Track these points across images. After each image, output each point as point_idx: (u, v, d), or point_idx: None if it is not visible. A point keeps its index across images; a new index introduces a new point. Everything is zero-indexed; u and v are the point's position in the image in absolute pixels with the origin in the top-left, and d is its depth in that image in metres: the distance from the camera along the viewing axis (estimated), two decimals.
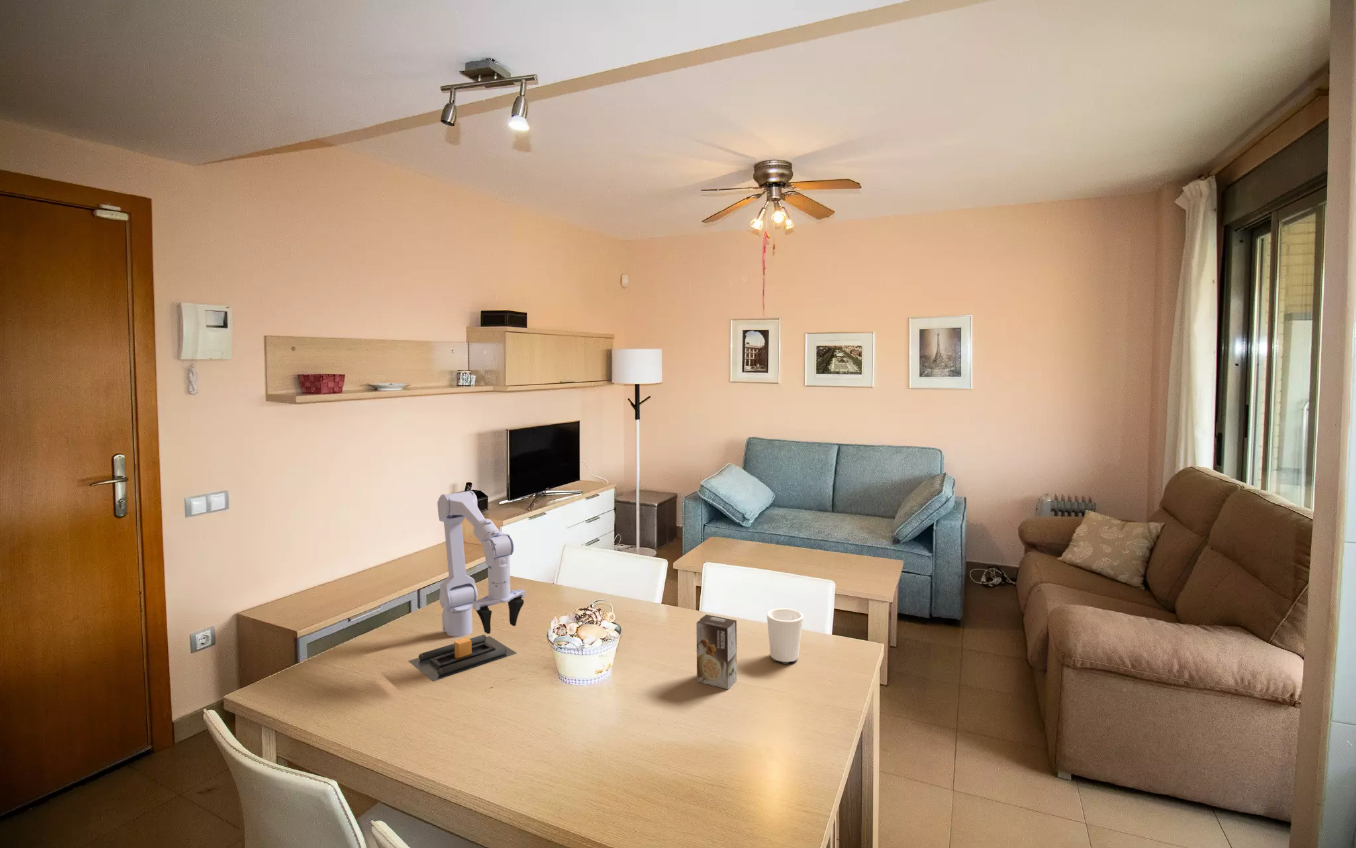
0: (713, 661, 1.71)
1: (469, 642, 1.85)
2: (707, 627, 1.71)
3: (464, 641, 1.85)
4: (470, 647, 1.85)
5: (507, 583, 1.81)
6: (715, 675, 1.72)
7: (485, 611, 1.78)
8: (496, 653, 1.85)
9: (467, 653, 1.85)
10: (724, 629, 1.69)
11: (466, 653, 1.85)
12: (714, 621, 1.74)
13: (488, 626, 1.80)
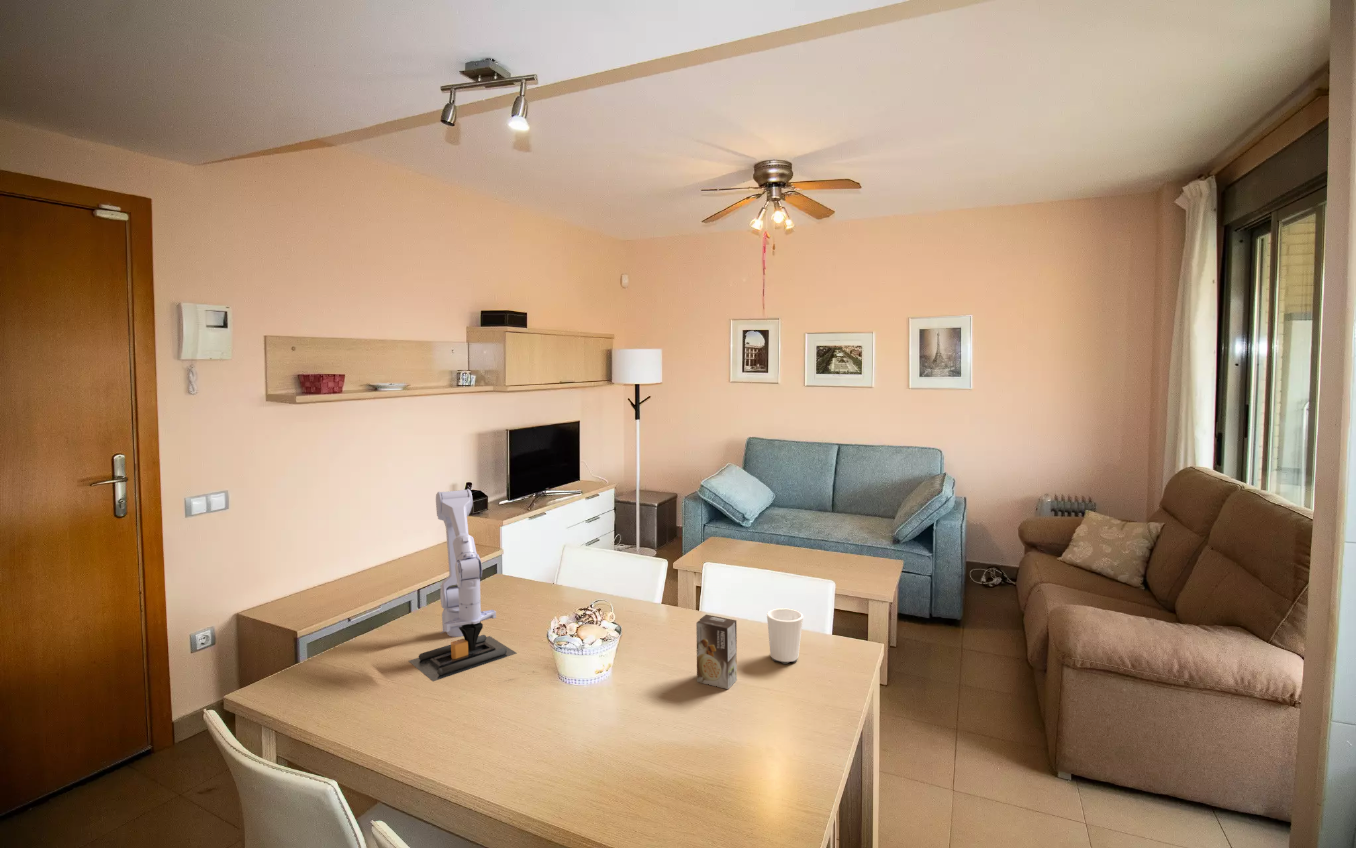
0: (713, 661, 1.71)
1: (465, 643, 1.84)
2: (707, 627, 1.71)
3: (460, 642, 1.84)
4: (466, 648, 1.85)
5: (477, 604, 1.85)
6: (715, 675, 1.72)
7: (468, 629, 1.84)
8: (496, 653, 1.85)
9: (463, 654, 1.84)
10: (724, 629, 1.69)
11: (462, 654, 1.84)
12: (714, 621, 1.74)
13: (471, 643, 1.85)
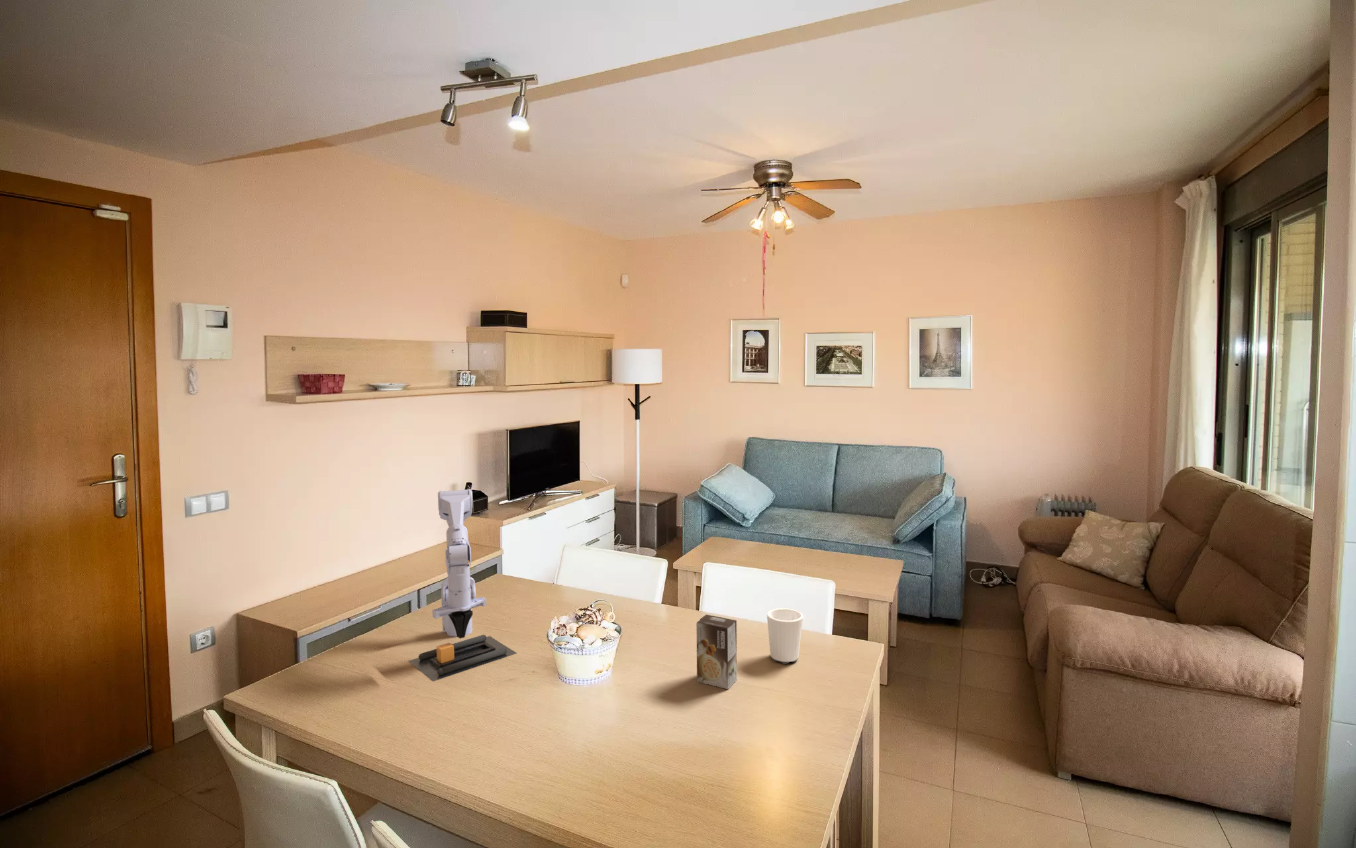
0: (713, 661, 1.71)
1: (451, 647, 1.82)
2: (707, 627, 1.71)
3: (446, 646, 1.81)
4: (452, 652, 1.82)
5: (467, 591, 1.82)
6: (715, 675, 1.72)
7: (457, 616, 1.81)
8: (496, 653, 1.85)
9: (449, 659, 1.81)
10: (724, 629, 1.69)
11: (448, 659, 1.81)
12: (714, 621, 1.74)
13: (460, 631, 1.83)
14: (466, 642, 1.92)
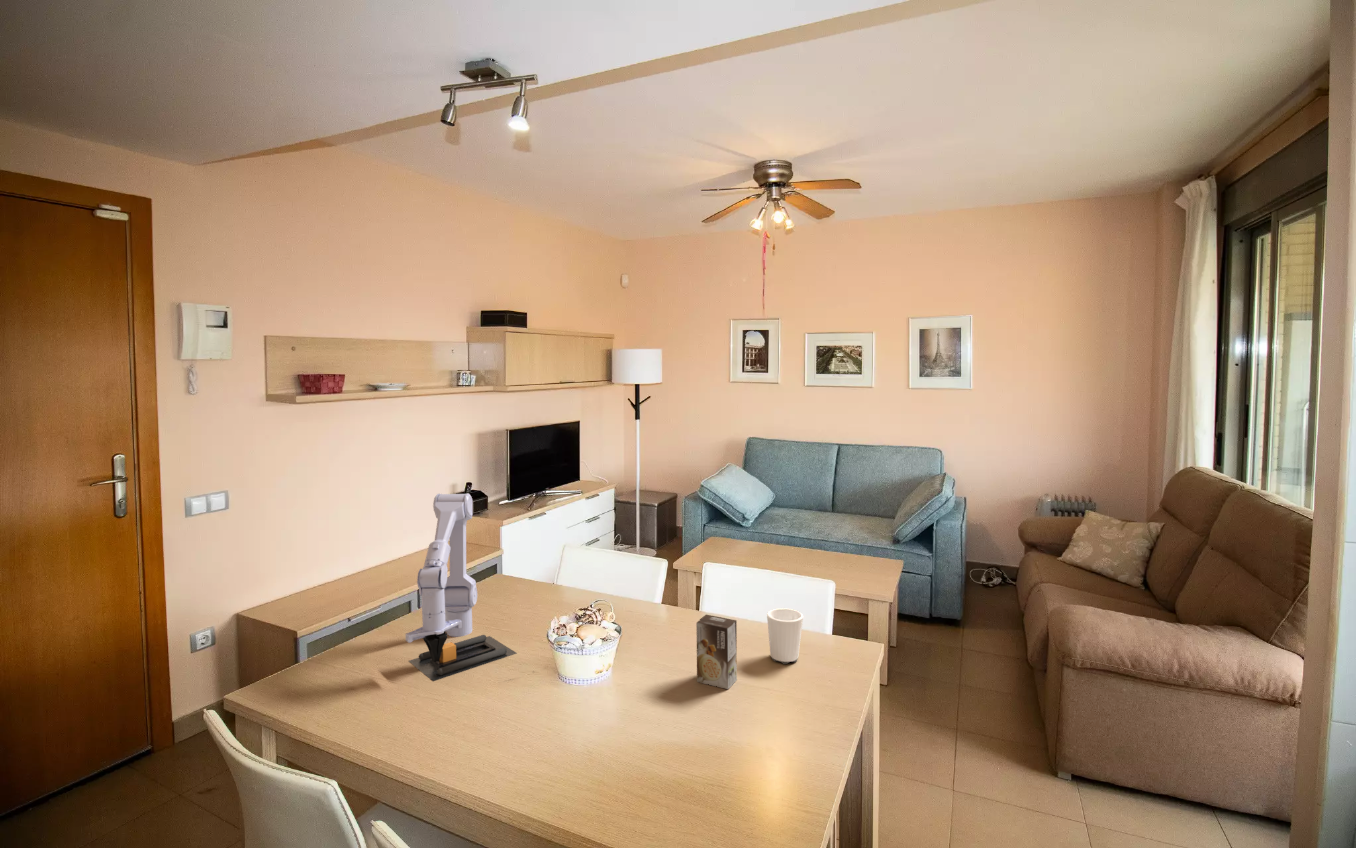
0: (713, 661, 1.71)
1: (453, 647, 1.82)
2: (707, 627, 1.71)
3: (448, 646, 1.82)
4: (454, 652, 1.82)
5: (441, 614, 1.78)
6: (715, 675, 1.72)
7: (431, 639, 1.77)
8: (496, 653, 1.85)
9: (451, 658, 1.82)
10: (724, 629, 1.69)
11: (450, 658, 1.82)
12: (714, 621, 1.74)
13: (435, 654, 1.78)
14: (466, 642, 1.92)
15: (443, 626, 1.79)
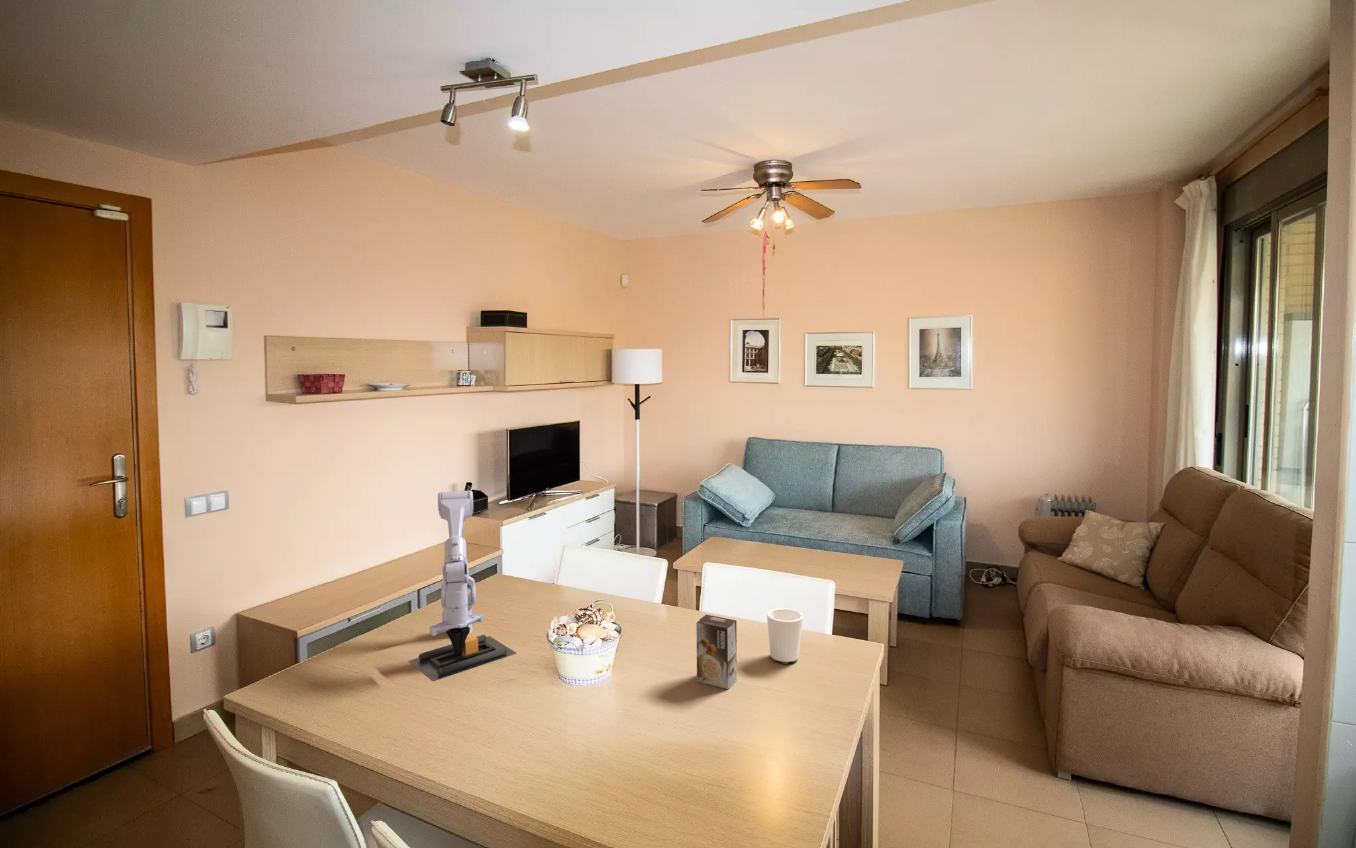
0: (713, 661, 1.71)
1: (476, 640, 1.86)
2: (707, 627, 1.71)
3: (471, 639, 1.86)
4: (477, 645, 1.87)
5: (464, 608, 1.82)
6: (715, 675, 1.72)
7: (454, 633, 1.81)
8: (496, 653, 1.85)
9: (474, 651, 1.86)
10: (724, 629, 1.69)
11: (473, 651, 1.86)
12: (714, 621, 1.74)
13: (458, 647, 1.83)
14: None
15: (466, 620, 1.83)
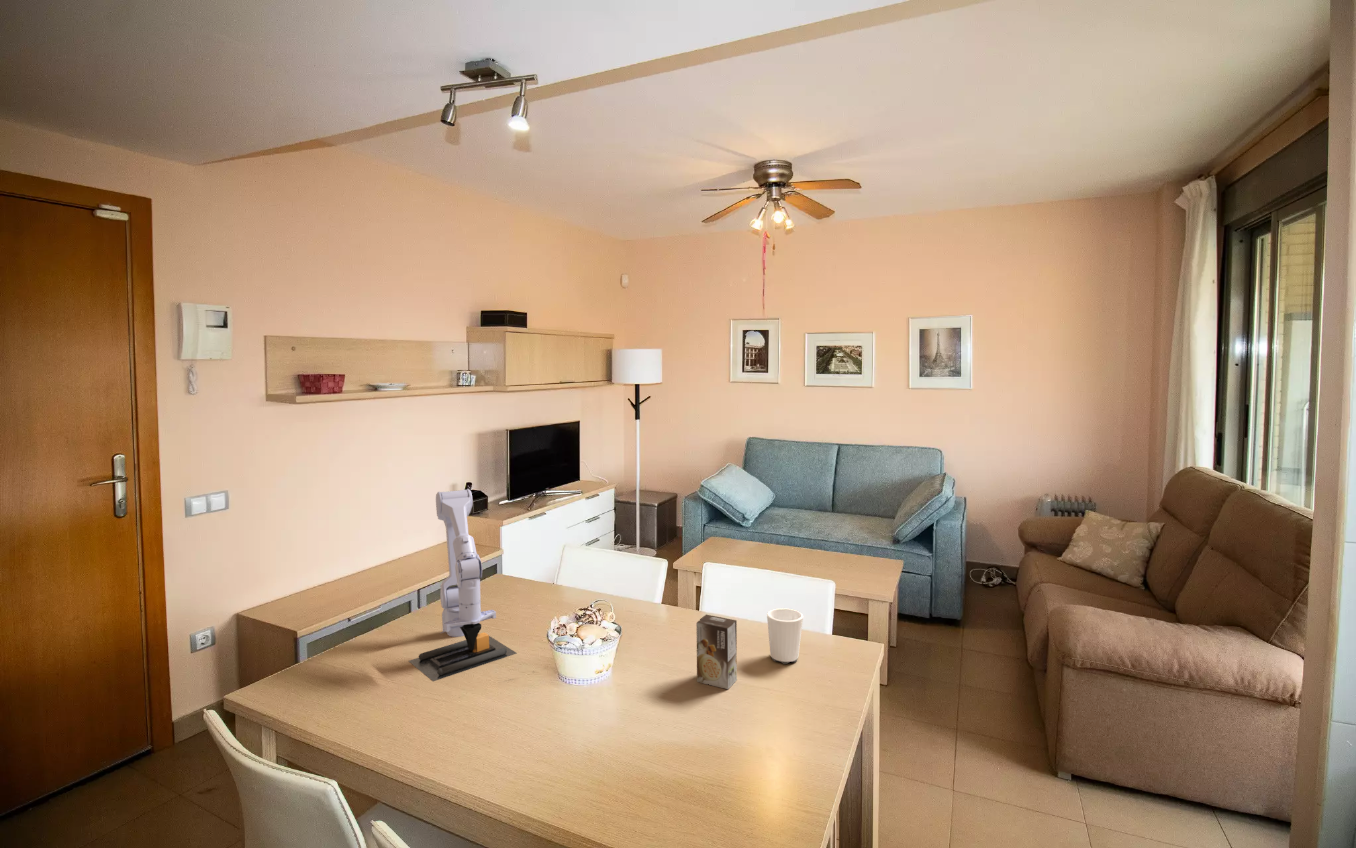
0: (713, 661, 1.71)
1: (487, 637, 1.89)
2: (707, 627, 1.71)
3: (482, 636, 1.88)
4: (487, 642, 1.89)
5: (477, 605, 1.85)
6: (715, 675, 1.72)
7: (469, 628, 1.84)
8: (496, 653, 1.85)
9: (485, 647, 1.88)
10: (724, 629, 1.69)
11: (484, 647, 1.88)
12: (714, 621, 1.74)
13: (472, 643, 1.86)
14: (466, 642, 1.92)
15: (479, 616, 1.85)
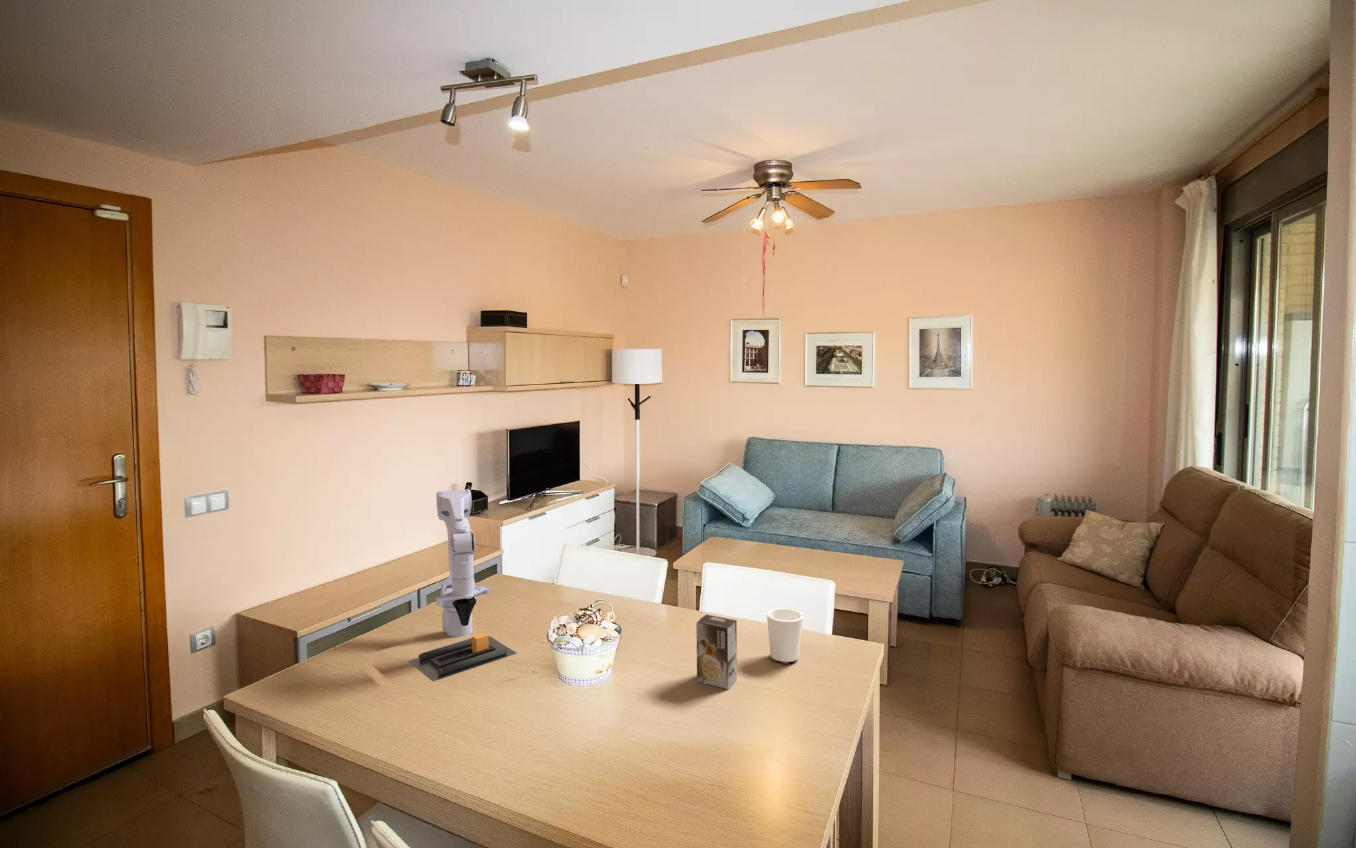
0: (713, 661, 1.71)
1: (486, 637, 1.89)
2: (707, 627, 1.71)
3: (481, 636, 1.88)
4: (487, 642, 1.89)
5: (470, 579, 1.83)
6: (715, 675, 1.72)
7: (461, 604, 1.82)
8: (496, 653, 1.85)
9: (484, 648, 1.88)
10: (724, 629, 1.69)
11: (483, 648, 1.88)
12: (714, 621, 1.74)
13: (464, 618, 1.84)
14: (466, 642, 1.92)
15: (472, 591, 1.84)
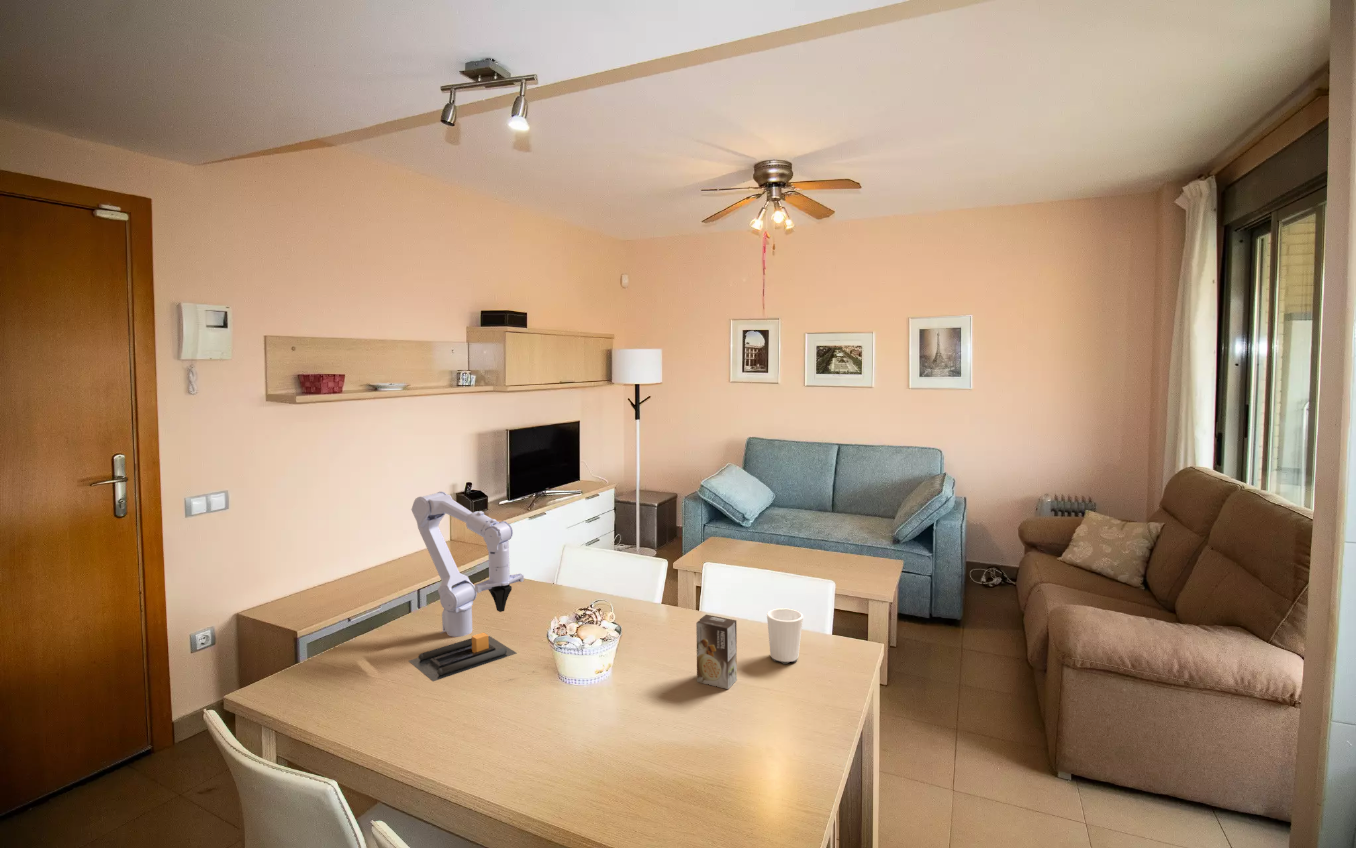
0: (713, 661, 1.71)
1: (486, 637, 1.89)
2: (707, 627, 1.71)
3: (481, 636, 1.88)
4: (487, 642, 1.89)
5: (506, 567, 1.93)
6: (715, 675, 1.72)
7: (497, 590, 1.92)
8: (496, 653, 1.85)
9: (484, 648, 1.88)
10: (724, 629, 1.69)
11: (483, 648, 1.88)
12: (714, 621, 1.74)
13: (500, 605, 1.94)
14: (466, 642, 1.92)
15: (508, 578, 1.94)
